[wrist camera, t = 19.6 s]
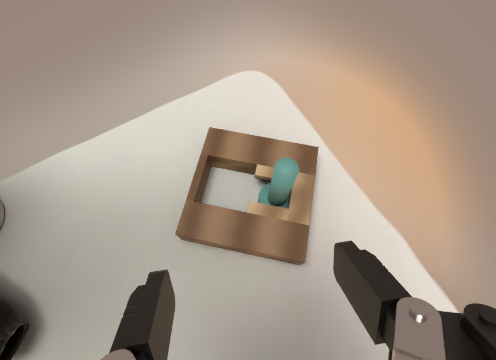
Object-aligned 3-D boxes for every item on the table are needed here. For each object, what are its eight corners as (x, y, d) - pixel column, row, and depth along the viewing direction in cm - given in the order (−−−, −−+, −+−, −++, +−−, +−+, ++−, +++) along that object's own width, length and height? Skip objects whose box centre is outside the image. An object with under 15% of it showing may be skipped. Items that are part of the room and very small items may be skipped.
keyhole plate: (181, 239, 35) (175, 234, 32) (212, 140, 41) (209, 127, 38) (299, 264, 34) (304, 262, 31) (312, 158, 40) (318, 147, 37)
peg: (255, 214, 37) (258, 185, 27) (261, 182, 39) (267, 143, 29) (290, 221, 36) (307, 194, 26) (295, 189, 38) (313, 152, 28)
